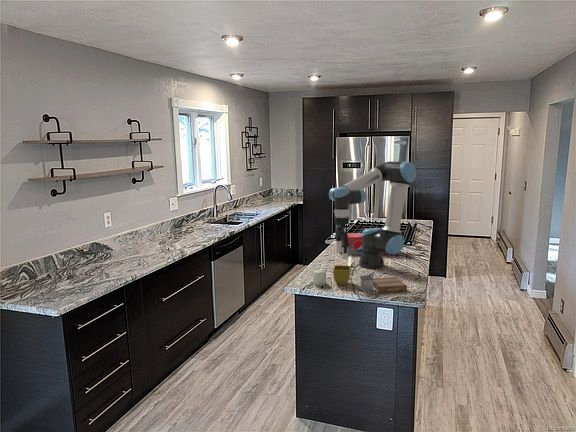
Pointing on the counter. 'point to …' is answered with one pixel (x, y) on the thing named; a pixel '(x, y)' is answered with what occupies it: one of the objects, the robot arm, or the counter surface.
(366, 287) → the metal tin
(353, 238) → the soda box
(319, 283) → the pale green rounded cylinder
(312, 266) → the counter surface
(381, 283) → the brown curved panel
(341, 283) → the flower pot
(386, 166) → the robot arm
